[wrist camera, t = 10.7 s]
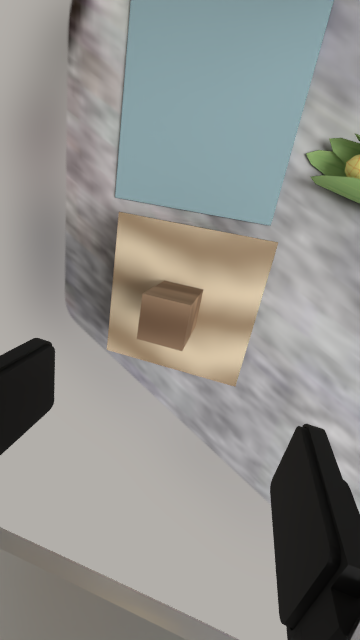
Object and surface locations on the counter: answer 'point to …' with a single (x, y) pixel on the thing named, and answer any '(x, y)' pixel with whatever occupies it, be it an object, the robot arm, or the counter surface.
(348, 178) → the edible corn
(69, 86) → the counter surface
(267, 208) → the mat
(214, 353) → the lid
